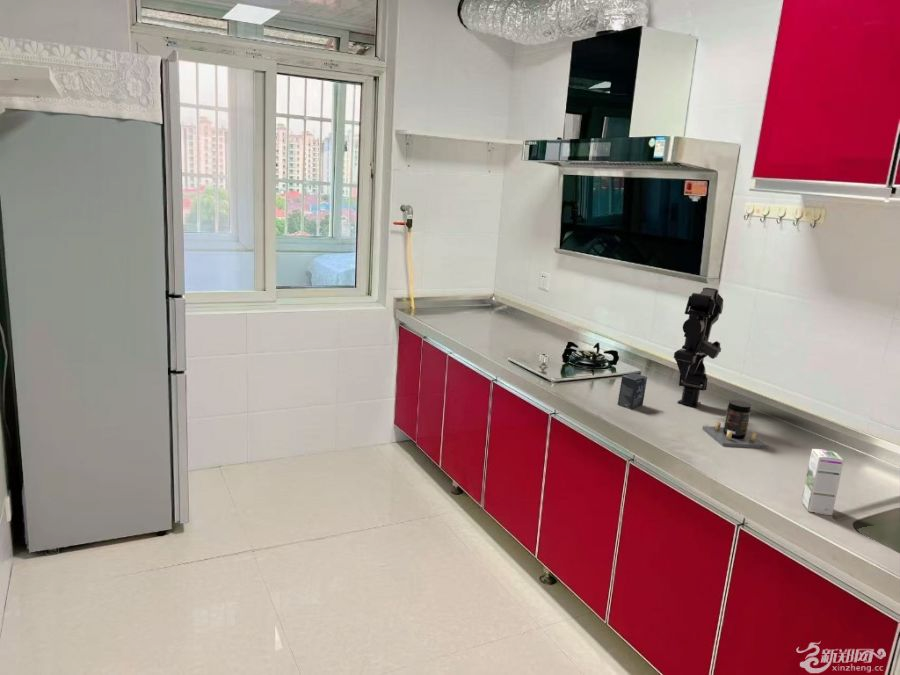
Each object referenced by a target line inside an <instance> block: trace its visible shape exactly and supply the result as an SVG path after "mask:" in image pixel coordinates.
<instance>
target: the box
mask: <svg viewBox="0 0 900 675" xmlns="http://www.w3.org/2000/svg"><path fill="white" fill-rule="evenodd" d="M647 382H648V376H645V375H641V374H638V373H635V372H633V373H630V374H625V375H622V376H621V382H620V386H619V387H620V388H619V392H618V393H619V394H618V399H617V400H618V401H617V405H618V406H621V407H624V408H627V409H630V410H632V409H636V408H638V407H641V406H643V405H644V400H645V392H646V388H647Z"/></svg>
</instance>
